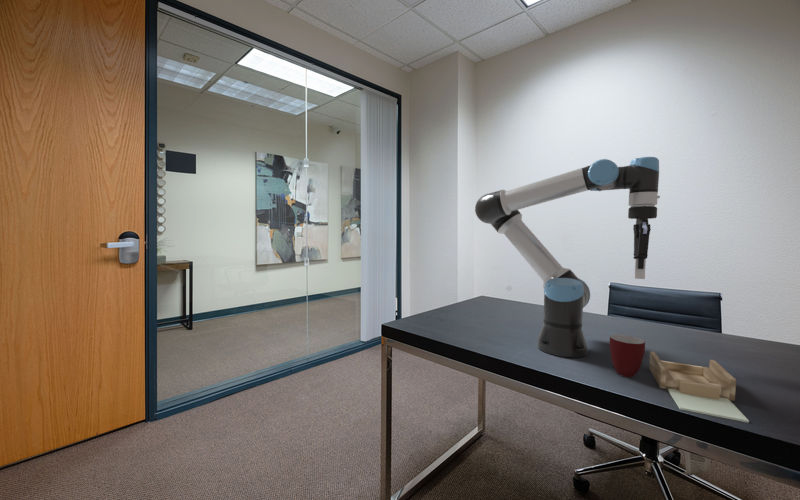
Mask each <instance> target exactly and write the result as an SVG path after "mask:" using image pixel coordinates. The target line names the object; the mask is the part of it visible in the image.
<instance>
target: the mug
mask: <svg viewBox="0 0 800 500" xmlns="http://www.w3.org/2000/svg"><path fill="white" fill-rule="evenodd" d="M608 345H609V351H610V353H609V354H610V358H611V363H612V366H613V368H614V370H615V371H616V374H618V375H619V376H621V377H624V378H633V377H635V376H636V375H637V374H638V372H639V371H640V370H641V368H642V367H641V366H642V363H643V359H644V356H645V351H646V341H645V340H644V339H642V338H639V337H637V336H636V337H635V336H633V335H626V334H611V335H610V336H609V343H608Z"/></svg>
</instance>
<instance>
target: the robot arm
mask: <svg viewBox="0 0 800 500" xmlns="http://www.w3.org/2000/svg"><path fill="white" fill-rule="evenodd" d="M659 178H660V159H659V158H658V157H655V156H641V157H637V158H633V159H632V160H631V161H630V164H629V165H624V166H618V165H617V163H616V162H614V161H613V160H611V159H607V158H602V159H599V160H595V161H594V162H593V163H592V164H591V165H587V166H585V167H581V168H577V169H575V170H571V171H568V172H565V173H561V174H558V175H555V176H551V177H548V178H544V179H542V180H539V181H535V182H532V183H529V184H526V185H523V186H519V187H516V188H512V189H509V190H505V189H500V190H498V191H497V190H496V191H493V192H489V193H486V194H484V195H481V196H480V197H479V199H477V202H475V203H476V204H475V207H474V212H475V216H476V217H477V218H478V219H479V221H481V222H482V223H484V224H489V225H491V227H492V228H493V229H494V230H495V231H496V232H497V233H498V234H500V235H501V234H503V235H504V236H505V237H506V238H507V239H508V241H509V242H510V243H511V245H513V247H514V248H515V249H516V250H517V252H518V253H520V256H522V257H523V259H524V261H526V262H527V263H528V264H529V266H530V267H531V268H532V270H534V272H535V273H536V274H537V276H539V278H540V279H541V280H542V283H543V286H542V288H543V295H544V297H543V324H542V328H541V329H540V332H539V334H538V337H537V341H536V342H537V343H536V345H537V348H538V349H539V350H541V351H542V352H544V353H547V354H550V355H554V356H557V357H564V358H581V357H585V356H587V355H588V344H587V341H586V338H585V335H584V331H583V317H584V316H583V313H584V312H583V311H584V308H585V307H587V305H588V304H589V302H590V300H591V292H590V287H589V286H588V284H587V283H586V282H585V281H583V280H582V279H580V278H579V277H578V276H577V275H576V274H575V273H574V272H573V271H572V270H571V269H570V268H565V267H563V266H562V265H561V263H559V261H558V260H557V259H556V258H555V257H554V256H553V254H552V253H551V252H550V251H549V250H548V249H547V248H546V246H545V245H544V244H543V243H542V242H541V241H540V240H539V239H538V237H537V236H536V235H535V234H534V233H533V232H532V230H530V228H529V227H528V226H527V225H526V223H524V221H523V220H522V219H523V217H522V216H523V214H522V213H521V212H520V211H519V210H522V209H524V208H529V207H533V206H536V205H540V204H543V203H547V202H550V201H551V202H552V201H553V200H558V199H561V198H565V197H569V196H572V195H576V194H579V193H584V192H587V191H590V192H593V191H594V192H603V191H612V190H613V191H614V190H615V191H616V190H629V191H628V192H629V193H628V206H629V208H628V212H627V213H628V214H627V215H628V216H627V218H628V219H632V220H635V224H633V230H632V231H633V259H634V266H633V268H634V270H633V271H634V272H633V278H634V279H635V280H645V279H646V262H647V260H646V259H648V255H649V254H648V253H649V242H650V235H651V234H650V233H651V231H652V230H651V229H652V228H651V224H649V220H651V219H656V218H657V217H658V207H657V206H656V205H658V200H659V199H660V198H661V196H660V195H658V192H659V181H660V179H659Z"/></svg>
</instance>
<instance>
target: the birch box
mask: <svg viewBox="0 0 800 500" xmlns="http://www.w3.org/2000/svg"><path fill="white" fill-rule="evenodd" d="M648 367H649V369H648V370H649V371H650V373H651V374H652V376H653V377H654V380H655V381H656V383H657V384H658V386H659V388H660V389H665V390H668V389H674V390H679V380H685V381H691V382H697V383H703V384H709V385H716V386H718V387H719V388H720V391H719V397H721V398H726V399H729V400H730V401H731V402H734V401H736V387H737V379H736V378H735V377H734V376H733V375H732V374H730V373H729V372H728V371H727V370H726V369H725V368H724V367H723V366H722V365H721V364H719V362H717V361H716V360H715V359H709V367H707V366H701V365H700V366H699V365H694V364H689V363H681V362H673V361H667V360H661V359H660V357H659V356H658V355H657V353H656V352H655V351H650V352H649V365H648Z"/></svg>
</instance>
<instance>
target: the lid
mask: <svg viewBox="0 0 800 500" xmlns="http://www.w3.org/2000/svg"><path fill="white" fill-rule="evenodd" d="M667 391H668V392H669V394H670V396H671V397H672V399H673V400H674V402H675V403H676V405H677V407H678V408H679V410H681V411H686V412H691V413H692V412H693V413H696V414H703V415H707V416H712V417H717V418H722V419H728V420H733V421H738V422H741V423H742V422H743V423H748V424H749V423H750V420H749V419H748V418H747V417H746V416H745V415H744V414H743V412H742V411H740V410H739V408H738V407H737V406H736V405H735V404H734V403H733V401H732V400H729V399H726V398H721V397H719V391H720V388H719V387H718V386H716V385H709V384H703V383H697V382H691V381H685V380H679V390H674V389H667Z"/></svg>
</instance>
